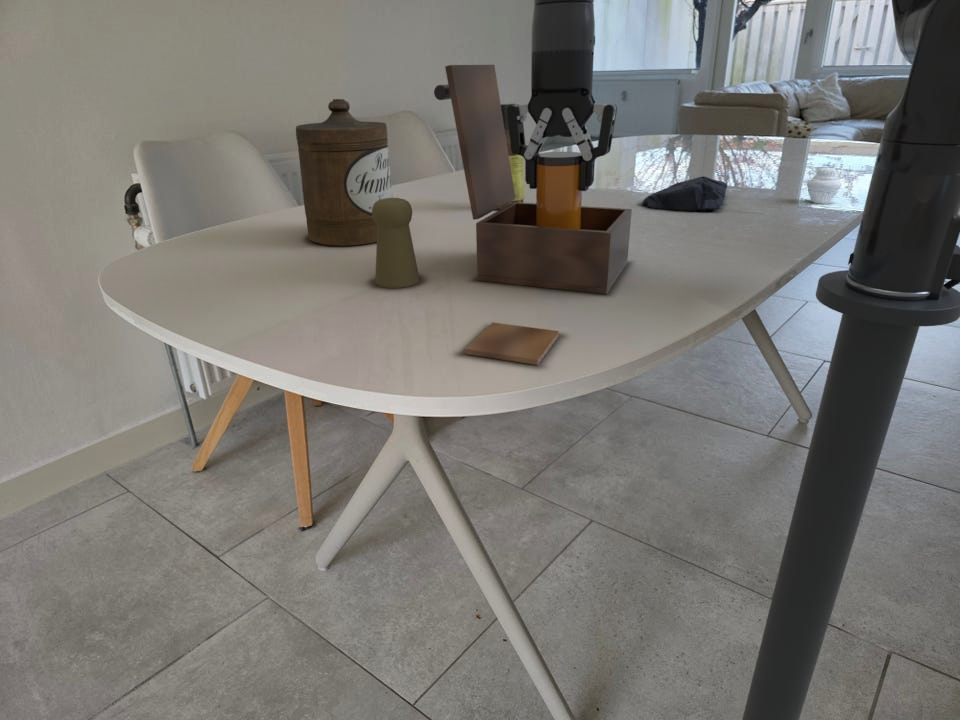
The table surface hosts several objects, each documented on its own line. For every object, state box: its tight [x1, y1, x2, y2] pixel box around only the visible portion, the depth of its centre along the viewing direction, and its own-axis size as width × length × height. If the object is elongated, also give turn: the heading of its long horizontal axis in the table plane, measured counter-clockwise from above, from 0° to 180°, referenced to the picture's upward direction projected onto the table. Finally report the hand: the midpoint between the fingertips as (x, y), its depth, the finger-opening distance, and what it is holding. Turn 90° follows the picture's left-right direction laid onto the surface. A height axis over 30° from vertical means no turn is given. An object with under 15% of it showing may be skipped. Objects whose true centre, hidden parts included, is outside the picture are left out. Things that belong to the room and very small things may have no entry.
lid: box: [433, 64, 515, 221], centre depth 84 cm, size 18×15×5 cm
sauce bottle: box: [496, 102, 525, 210], centre depth 123 cm, size 6×6×20 cm
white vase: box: [806, 166, 842, 205], centre depth 125 cm, size 6×6×7 cm
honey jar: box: [535, 151, 583, 229], centre depth 83 cm, size 6×6×12 cm
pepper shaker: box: [372, 197, 420, 289], centre depth 82 cm, size 6×6×11 cm
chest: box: [475, 202, 633, 295], centre depth 85 cm, size 18×15×8 cm
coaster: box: [465, 321, 560, 366], centre depth 64 cm, size 8×8×1 cm
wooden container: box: [295, 98, 394, 247], centre depth 103 cm, size 15×15×22 cm
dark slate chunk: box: [642, 175, 728, 212], centre depth 129 cm, size 15×22×5 cm
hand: (559, 188), depth 82 cm, fingers closed on honey jar, 6 cm apart
